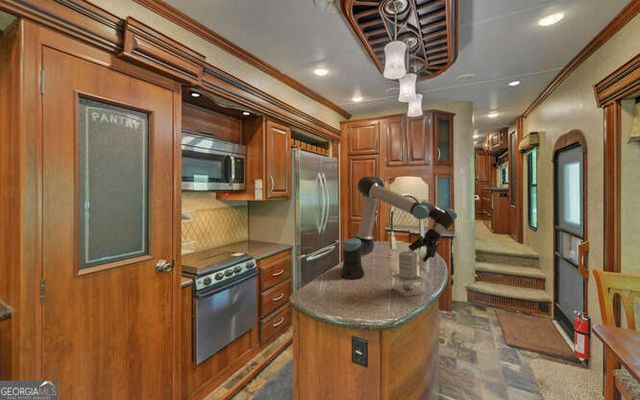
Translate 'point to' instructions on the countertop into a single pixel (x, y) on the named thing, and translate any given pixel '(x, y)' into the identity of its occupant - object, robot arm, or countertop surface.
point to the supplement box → (408, 264)
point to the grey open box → (408, 286)
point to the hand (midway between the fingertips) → (411, 262)
